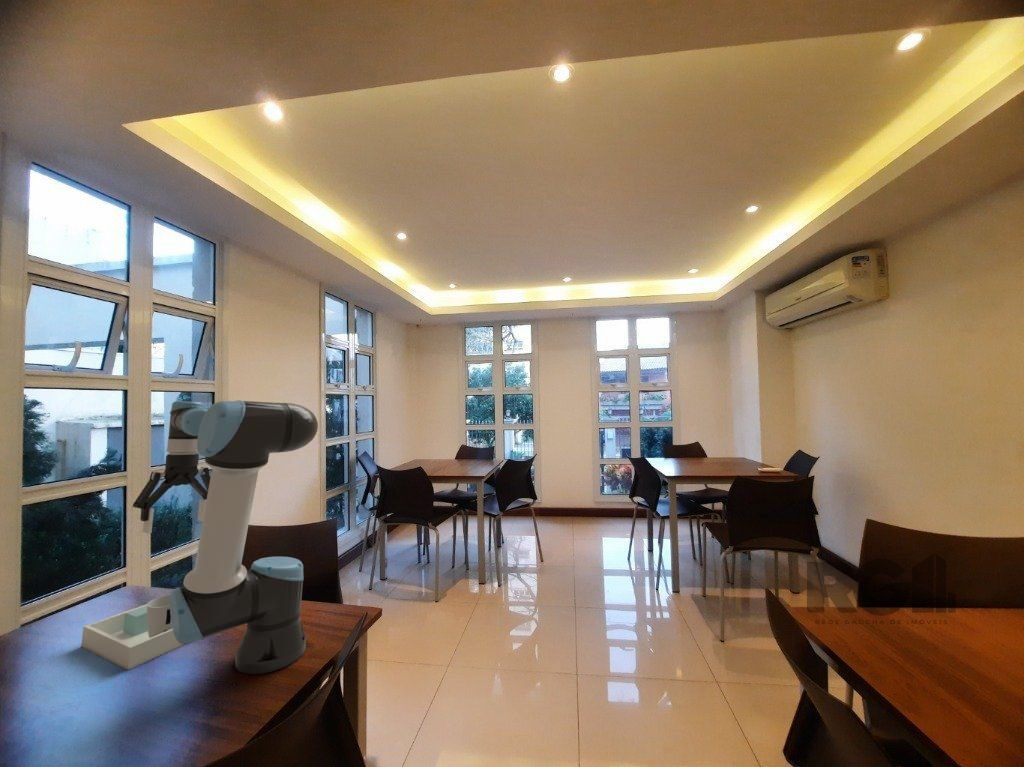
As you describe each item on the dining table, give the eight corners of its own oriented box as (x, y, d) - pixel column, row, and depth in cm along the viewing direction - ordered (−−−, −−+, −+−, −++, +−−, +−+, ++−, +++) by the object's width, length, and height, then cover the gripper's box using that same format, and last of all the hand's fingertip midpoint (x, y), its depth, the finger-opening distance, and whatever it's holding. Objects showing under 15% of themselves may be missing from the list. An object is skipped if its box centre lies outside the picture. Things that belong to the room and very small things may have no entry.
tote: (217, 629, 109) (219, 610, 110) (128, 670, 91) (130, 647, 92) (171, 612, 117) (173, 594, 118) (81, 646, 99) (83, 626, 100)
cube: (145, 623, 110) (147, 604, 110) (156, 627, 108) (158, 608, 109) (123, 632, 105) (125, 612, 106) (134, 636, 103) (136, 616, 104)
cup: (160, 650, 98) (164, 609, 99) (134, 646, 99) (138, 605, 100) (192, 633, 106) (195, 595, 107) (167, 629, 107) (171, 591, 108)
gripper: (219, 449, 129) (213, 515, 127) (121, 455, 106) (112, 536, 104) (234, 451, 126) (228, 518, 124) (137, 457, 103) (128, 540, 101)
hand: (175, 526), depth 114 cm, fingers open, 13 cm apart
